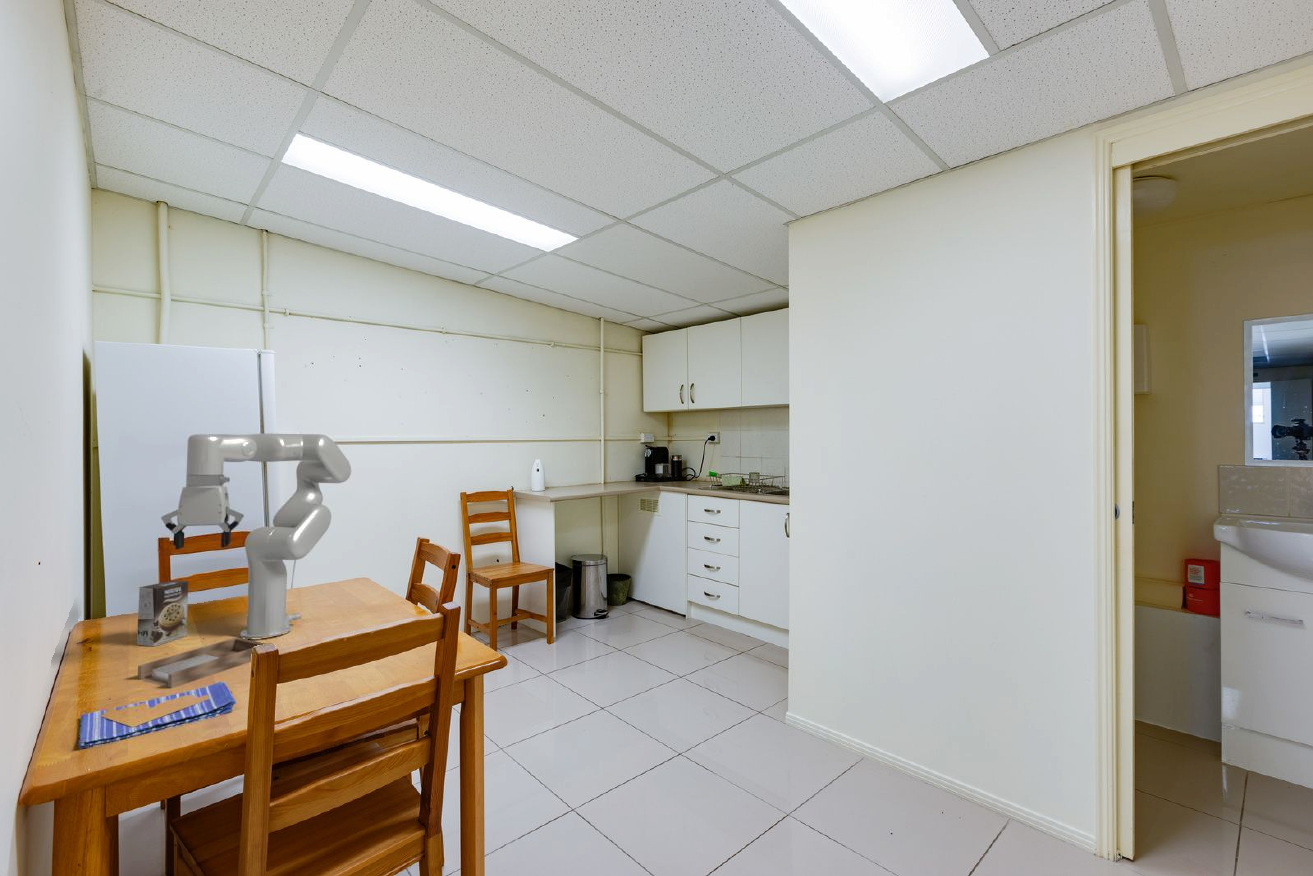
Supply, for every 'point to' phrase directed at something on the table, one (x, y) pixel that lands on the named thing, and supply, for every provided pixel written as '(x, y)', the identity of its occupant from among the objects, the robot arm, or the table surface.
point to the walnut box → (228, 657)
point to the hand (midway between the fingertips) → (202, 547)
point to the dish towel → (106, 730)
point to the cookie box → (162, 612)
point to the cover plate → (179, 666)
